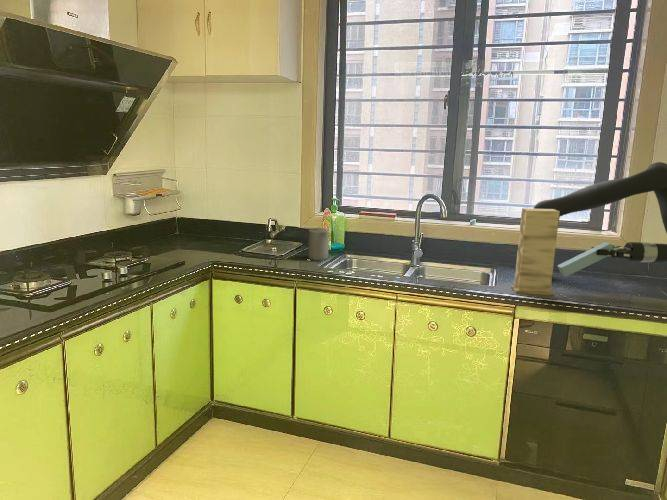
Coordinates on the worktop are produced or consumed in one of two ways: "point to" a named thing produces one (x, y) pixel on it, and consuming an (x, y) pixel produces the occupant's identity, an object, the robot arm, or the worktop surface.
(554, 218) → the oak block
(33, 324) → the worktop surface
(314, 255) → the pillar candle
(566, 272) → the slate bar
